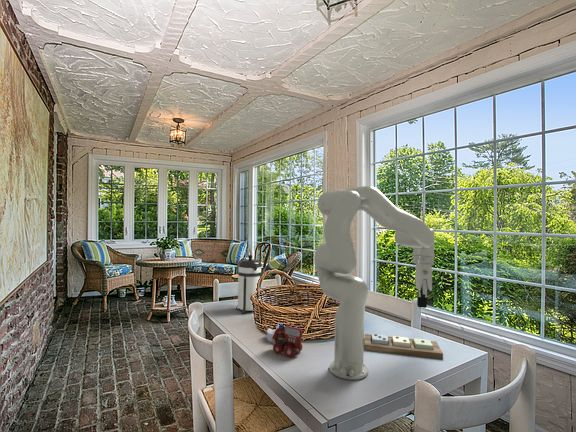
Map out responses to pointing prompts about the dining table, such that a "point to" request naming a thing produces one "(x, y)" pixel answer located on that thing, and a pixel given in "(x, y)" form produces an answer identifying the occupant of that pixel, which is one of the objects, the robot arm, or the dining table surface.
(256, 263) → the coffee press
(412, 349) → the wooden compartment tray
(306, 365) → the dining table surface
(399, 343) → the cream drawer
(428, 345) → the pale green drawer
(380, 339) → the pale blue drawer
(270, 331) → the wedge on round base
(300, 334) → the toy fire truck
